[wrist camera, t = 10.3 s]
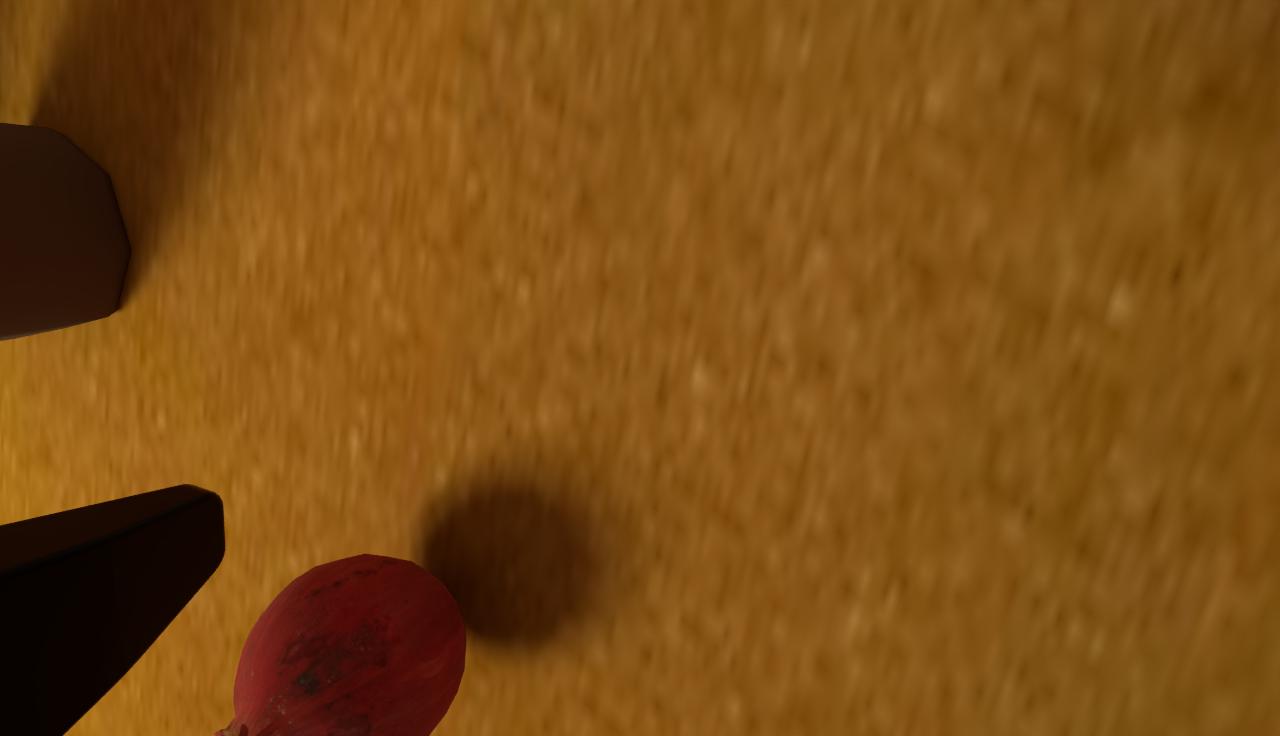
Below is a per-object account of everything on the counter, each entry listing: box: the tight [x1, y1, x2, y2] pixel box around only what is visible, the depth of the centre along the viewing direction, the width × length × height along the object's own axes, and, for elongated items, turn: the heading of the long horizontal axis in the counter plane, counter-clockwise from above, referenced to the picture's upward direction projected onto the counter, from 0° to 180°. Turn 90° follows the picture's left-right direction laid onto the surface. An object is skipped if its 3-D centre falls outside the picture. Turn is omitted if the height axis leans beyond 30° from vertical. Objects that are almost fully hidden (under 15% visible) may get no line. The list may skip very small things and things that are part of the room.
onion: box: [212, 554, 466, 736], centre depth 22 cm, size 6×6×8 cm
